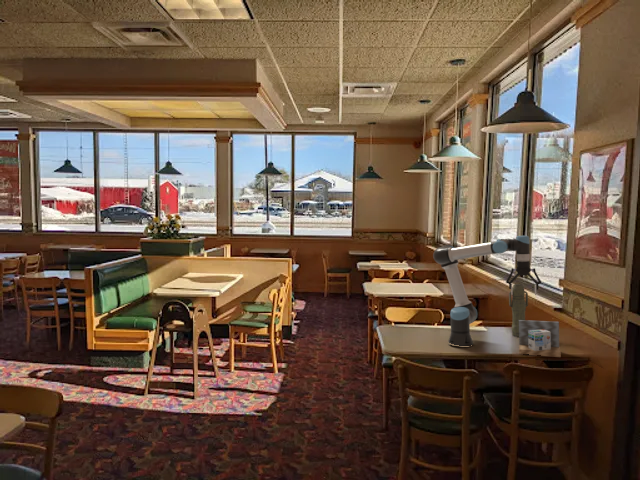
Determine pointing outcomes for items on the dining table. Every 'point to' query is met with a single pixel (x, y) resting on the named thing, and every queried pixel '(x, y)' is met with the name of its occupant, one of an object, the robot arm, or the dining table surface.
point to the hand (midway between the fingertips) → (523, 294)
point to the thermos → (518, 307)
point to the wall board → (537, 325)
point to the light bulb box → (539, 339)
